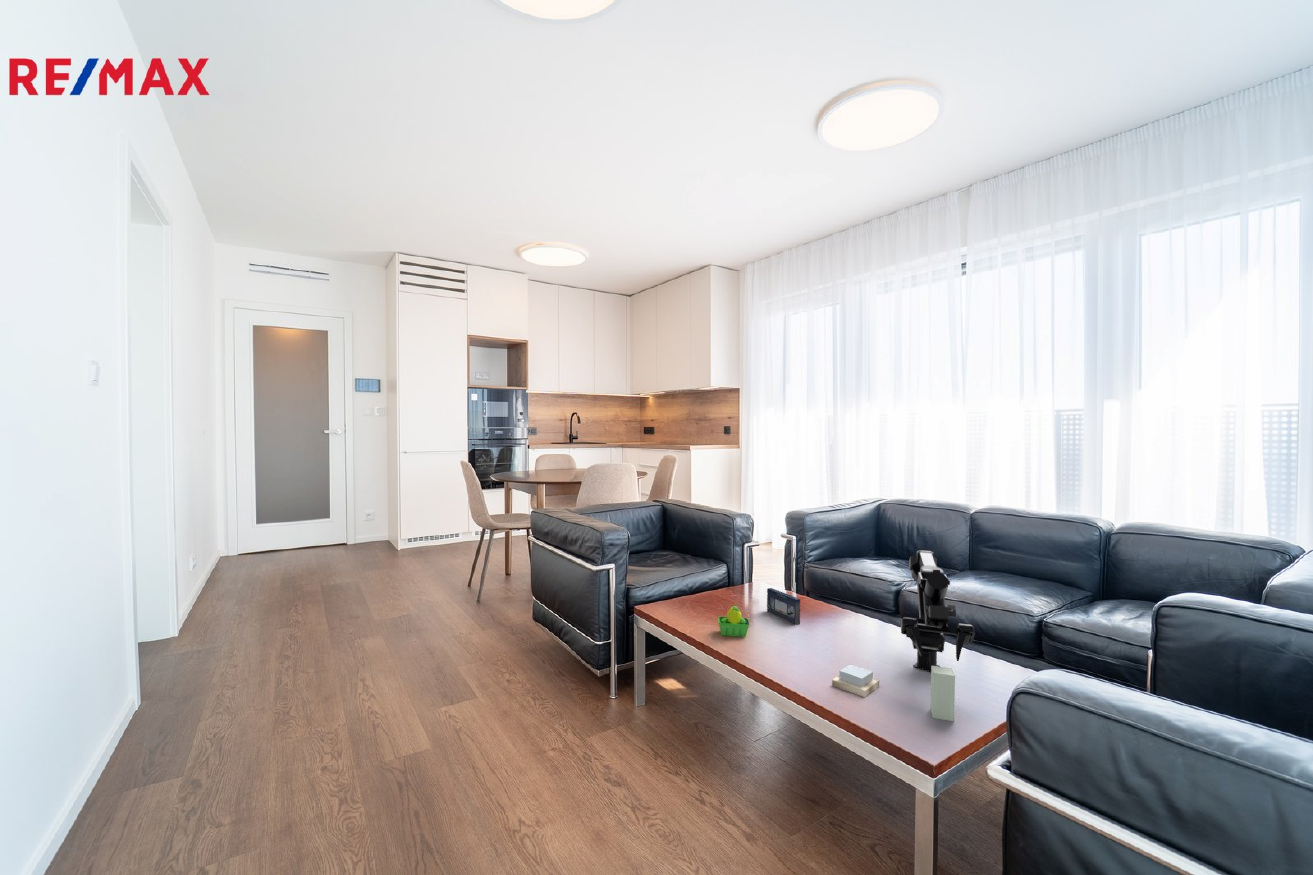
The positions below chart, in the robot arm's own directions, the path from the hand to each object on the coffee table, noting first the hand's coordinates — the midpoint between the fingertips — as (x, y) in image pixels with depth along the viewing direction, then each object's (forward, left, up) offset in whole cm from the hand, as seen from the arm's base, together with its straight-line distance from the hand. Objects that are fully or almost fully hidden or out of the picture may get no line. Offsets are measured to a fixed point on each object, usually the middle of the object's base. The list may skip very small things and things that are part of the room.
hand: (939, 658), depth 155 cm
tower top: (+6, -21, -11) cm, 25 cm away
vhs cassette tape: (-33, -70, -13) cm, 79 cm away
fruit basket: (-2, -72, -13) cm, 73 cm away
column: (+6, +3, -13) cm, 15 cm away
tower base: (+6, -21, -14) cm, 26 cm away
